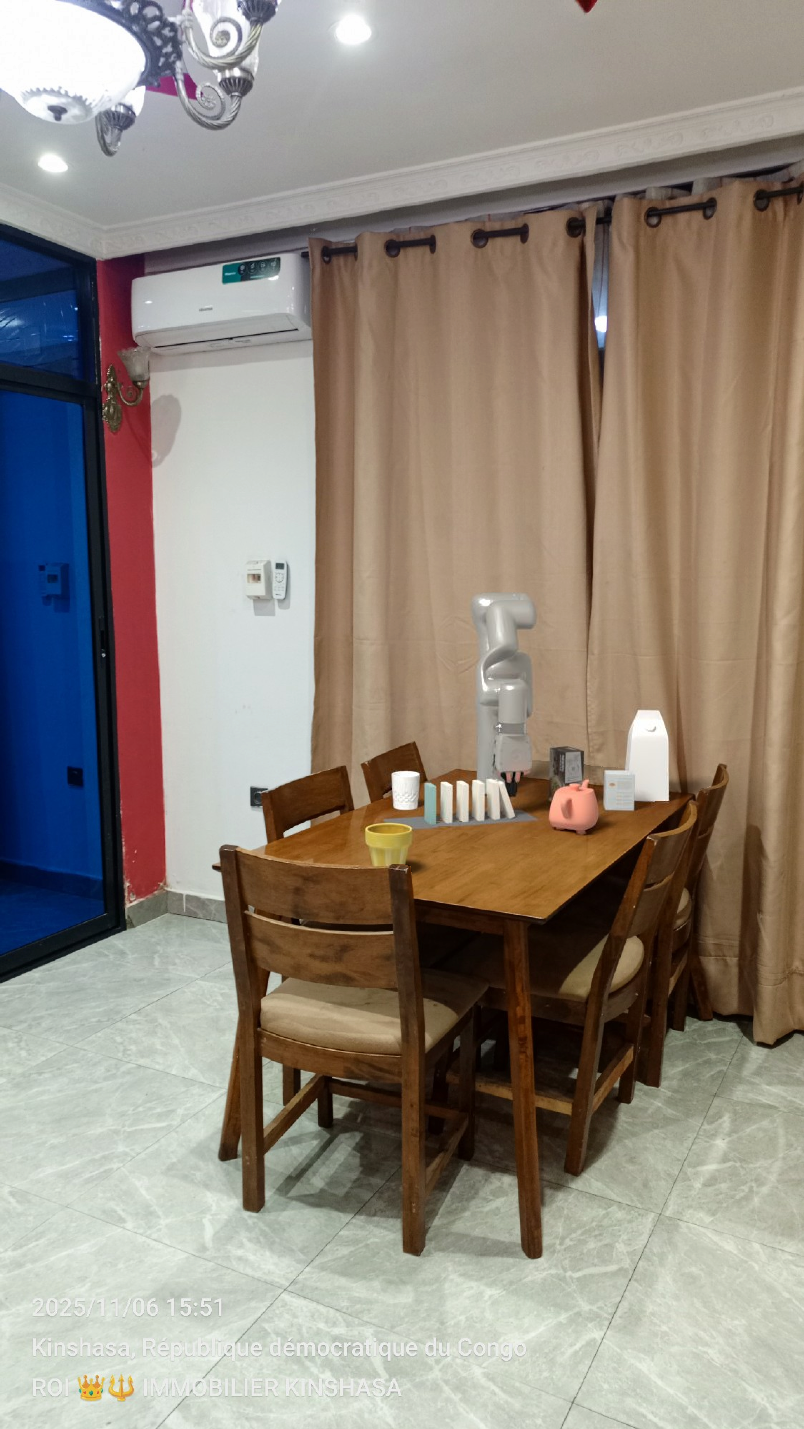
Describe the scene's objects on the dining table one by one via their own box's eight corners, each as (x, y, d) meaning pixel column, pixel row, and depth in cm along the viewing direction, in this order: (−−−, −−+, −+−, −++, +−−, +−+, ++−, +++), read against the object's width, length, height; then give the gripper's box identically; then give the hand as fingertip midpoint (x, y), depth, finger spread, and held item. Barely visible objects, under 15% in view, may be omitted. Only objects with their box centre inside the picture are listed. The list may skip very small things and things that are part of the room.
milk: (663, 793, 291) (667, 708, 287) (668, 801, 280) (672, 713, 276) (623, 792, 293) (626, 707, 289) (626, 800, 281) (629, 712, 278)
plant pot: (388, 861, 220) (388, 819, 219) (421, 870, 213) (422, 828, 212) (355, 871, 213) (355, 828, 212) (389, 881, 206) (389, 836, 204)
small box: (631, 806, 274) (632, 770, 272) (634, 811, 268) (635, 774, 267) (602, 805, 275) (604, 769, 273) (605, 810, 269) (606, 773, 268)
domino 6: (503, 814, 262) (491, 781, 260) (508, 811, 263) (497, 778, 260) (510, 818, 258) (498, 785, 255) (515, 816, 258) (504, 782, 256)
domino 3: (456, 817, 259) (456, 781, 257) (462, 817, 259) (462, 780, 258) (462, 822, 254) (463, 785, 253) (468, 821, 254) (468, 784, 253)
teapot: (585, 841, 238) (586, 793, 236) (539, 835, 243) (540, 788, 242) (607, 823, 255) (609, 778, 254) (564, 817, 261) (565, 774, 259)
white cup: (385, 808, 271) (385, 773, 270) (406, 804, 276) (406, 769, 275) (404, 813, 265) (404, 777, 264) (425, 809, 271) (425, 774, 269)
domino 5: (487, 815, 261) (486, 779, 260) (493, 814, 262) (491, 778, 260) (494, 819, 256) (493, 783, 255) (500, 819, 257) (498, 782, 255)
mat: (382, 821, 257) (382, 819, 257) (521, 811, 268) (521, 809, 268) (394, 832, 245) (394, 830, 245) (538, 821, 256) (538, 820, 256)
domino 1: (424, 819, 256) (424, 783, 255) (430, 819, 257) (430, 782, 255) (430, 824, 251) (430, 786, 250) (436, 823, 252) (436, 786, 250)
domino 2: (440, 818, 257) (440, 782, 256) (446, 818, 258) (446, 781, 256) (446, 823, 253) (446, 786, 251) (452, 822, 253) (452, 785, 252)
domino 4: (472, 816, 260) (472, 780, 259) (477, 816, 260) (478, 779, 259) (478, 820, 255) (479, 784, 254) (484, 820, 256) (484, 783, 254)
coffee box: (583, 806, 274) (585, 750, 272) (564, 808, 271) (565, 752, 269) (566, 799, 282) (568, 745, 280) (547, 801, 280) (549, 746, 278)
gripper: (491, 732, 251) (490, 800, 254) (543, 729, 256) (542, 797, 258) (480, 728, 258) (480, 794, 261) (532, 725, 263) (530, 791, 265)
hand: (510, 795), depth 260 cm, fingers closed
